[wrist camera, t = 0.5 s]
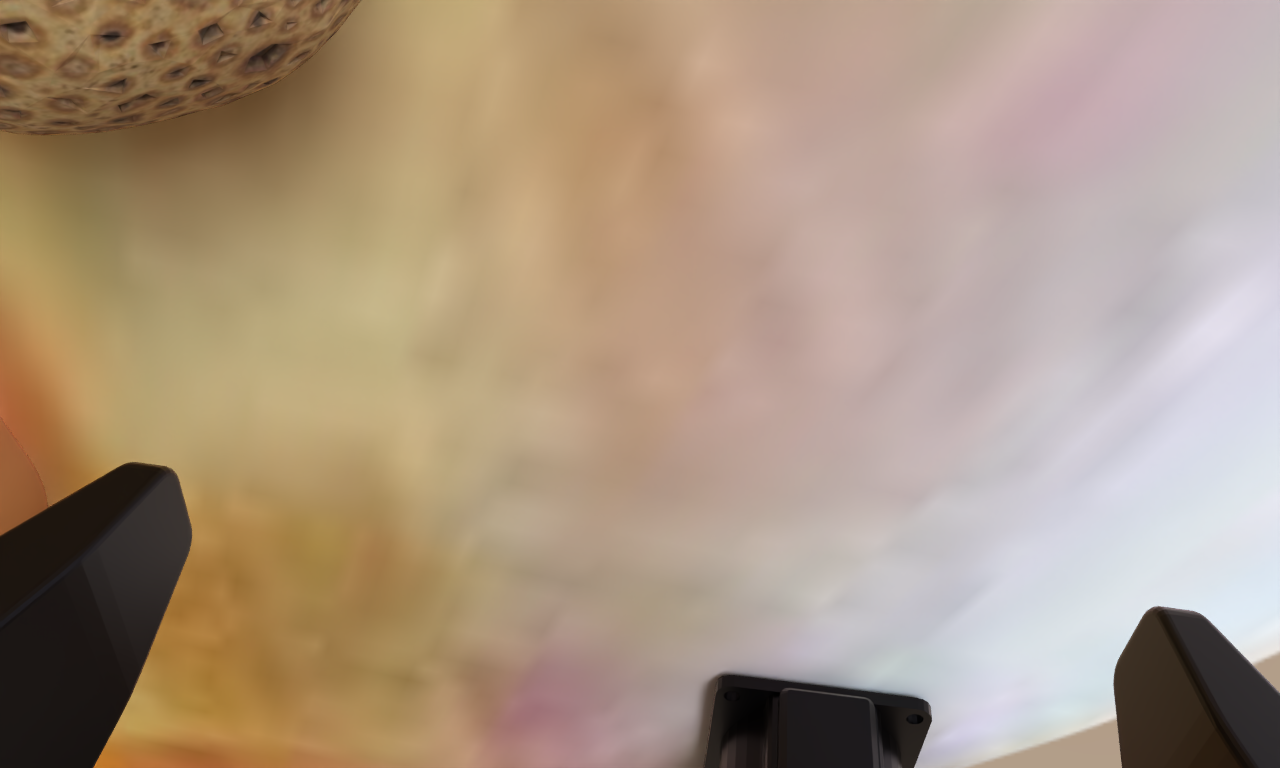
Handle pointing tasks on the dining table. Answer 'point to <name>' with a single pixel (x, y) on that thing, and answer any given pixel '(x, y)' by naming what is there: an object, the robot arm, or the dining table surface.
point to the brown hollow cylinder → (17, 483)
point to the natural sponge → (147, 57)
